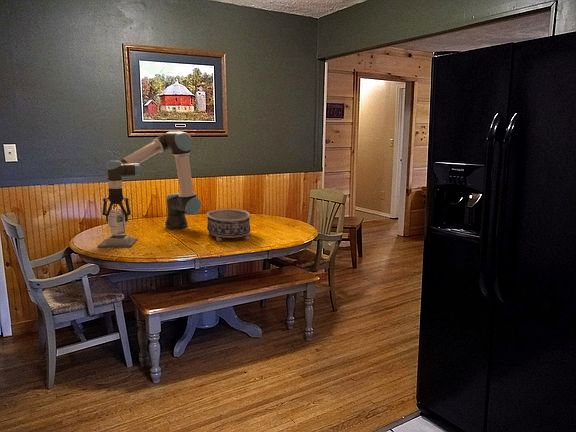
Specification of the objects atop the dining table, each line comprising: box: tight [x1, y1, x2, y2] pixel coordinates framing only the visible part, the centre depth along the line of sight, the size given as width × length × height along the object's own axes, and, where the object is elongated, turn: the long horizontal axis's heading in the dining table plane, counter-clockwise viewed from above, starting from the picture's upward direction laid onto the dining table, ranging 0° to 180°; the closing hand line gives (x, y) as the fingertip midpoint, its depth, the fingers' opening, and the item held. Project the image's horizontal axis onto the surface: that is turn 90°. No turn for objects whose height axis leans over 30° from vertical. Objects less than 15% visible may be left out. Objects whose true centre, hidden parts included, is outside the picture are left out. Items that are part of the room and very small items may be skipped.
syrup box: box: [109, 208, 126, 236], centre depth 256 cm, size 6×6×14 cm
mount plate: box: [97, 233, 139, 249], centre depth 258 cm, size 18×18×4 cm
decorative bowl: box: [206, 208, 251, 242], centre depth 280 cm, size 42×27×15 cm, turn 21°
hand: (117, 227), depth 256 cm, fingers closed on syrup box, 8 cm apart
